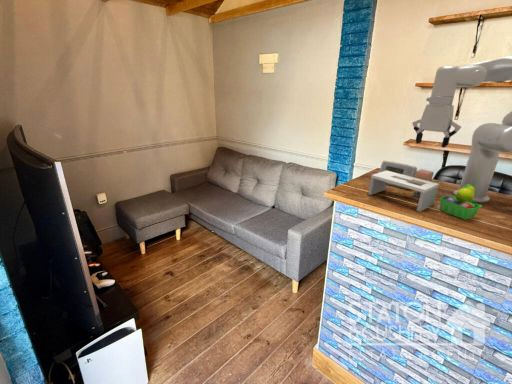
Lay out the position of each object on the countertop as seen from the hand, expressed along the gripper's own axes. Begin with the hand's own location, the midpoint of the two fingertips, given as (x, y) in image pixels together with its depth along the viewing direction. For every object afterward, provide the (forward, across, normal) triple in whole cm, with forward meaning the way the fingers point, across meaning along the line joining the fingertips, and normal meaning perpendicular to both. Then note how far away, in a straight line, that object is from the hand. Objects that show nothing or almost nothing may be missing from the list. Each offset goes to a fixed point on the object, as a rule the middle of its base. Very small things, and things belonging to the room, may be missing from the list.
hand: (430, 144), depth 111 cm
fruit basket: (+23, +17, -6) cm, 29 cm away
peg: (+23, 0, 0) cm, 23 cm away
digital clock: (+23, -14, +5) cm, 27 cm away
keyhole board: (+22, -3, -11) cm, 25 cm away
